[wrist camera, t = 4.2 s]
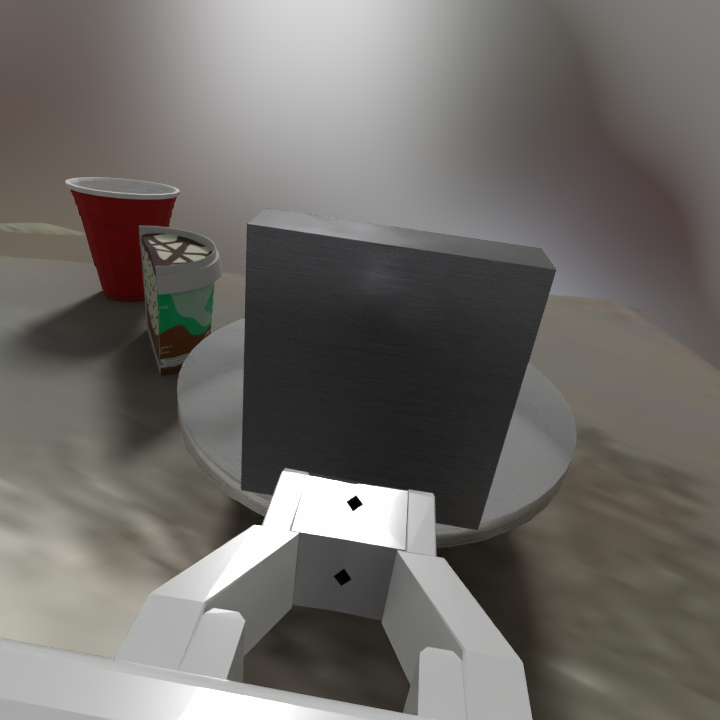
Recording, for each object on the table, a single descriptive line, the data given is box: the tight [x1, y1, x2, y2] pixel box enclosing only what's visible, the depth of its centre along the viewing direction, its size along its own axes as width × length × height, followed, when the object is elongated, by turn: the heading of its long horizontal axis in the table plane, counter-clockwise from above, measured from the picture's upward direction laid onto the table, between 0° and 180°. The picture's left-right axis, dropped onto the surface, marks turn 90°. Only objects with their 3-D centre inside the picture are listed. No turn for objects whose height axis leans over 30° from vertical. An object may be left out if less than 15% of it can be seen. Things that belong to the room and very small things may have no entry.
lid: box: [177, 208, 577, 548], centre depth 24 cm, size 18×18×10 cm
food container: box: [139, 226, 223, 376], centre depth 49 cm, size 12×6×10 cm, turn 26°
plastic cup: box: [66, 177, 180, 301], centre depth 58 cm, size 11×11×12 cm
